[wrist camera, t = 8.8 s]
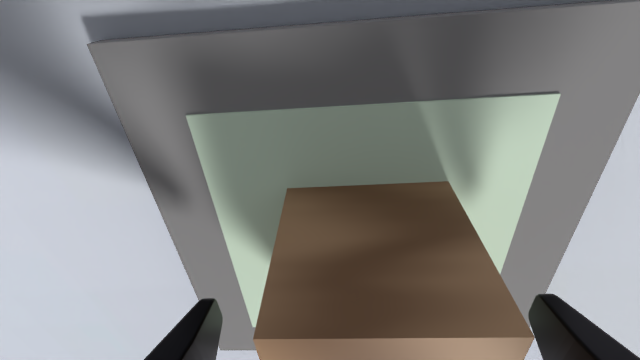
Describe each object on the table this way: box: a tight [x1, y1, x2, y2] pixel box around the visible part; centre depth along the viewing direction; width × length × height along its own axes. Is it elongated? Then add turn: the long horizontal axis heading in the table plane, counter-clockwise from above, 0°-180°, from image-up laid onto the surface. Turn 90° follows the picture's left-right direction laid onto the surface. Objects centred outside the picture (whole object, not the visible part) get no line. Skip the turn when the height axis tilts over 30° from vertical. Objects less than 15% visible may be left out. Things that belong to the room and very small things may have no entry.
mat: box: [87, 0, 640, 350], centre depth 12 cm, size 14×14×1 cm
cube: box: [253, 181, 535, 360], centre depth 9 cm, size 5×5×5 cm
